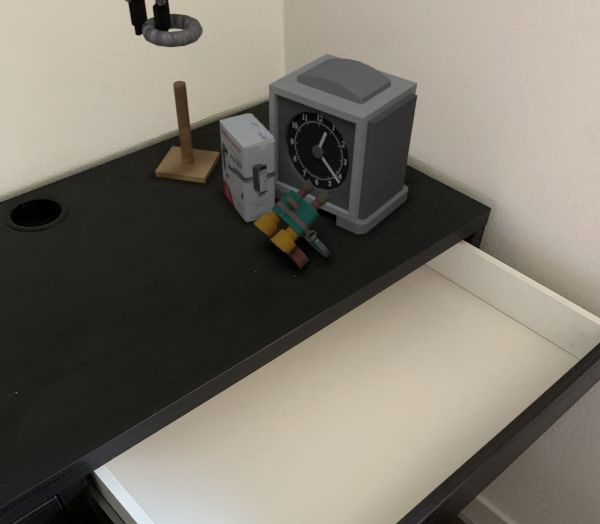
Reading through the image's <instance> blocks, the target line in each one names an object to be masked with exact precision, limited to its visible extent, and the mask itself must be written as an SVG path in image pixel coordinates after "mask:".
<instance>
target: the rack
mask: <svg viewBox="0 0 600 524" xmlns="http://www.w3.org/2000/svg"><path fill="white" fill-rule="evenodd" d="M172 86H173V87H172V88H173V95H174V103H175V111H176V121H177V129H178V137H179V145H180V146H175V145H172V146H171V147H170V149H169V150H168V151H167V153H166V154H165V156H164V157H163V158H162V160H161V162H160V163H159V164H158V166H157V168H156V169H155V171H154V172H155V173H154V174H155V177H156V178H163V179H170V180H171V179H172V180H178V181H185V182H193V183H199V184H207V181H208V180H209V178H210V176H211V174H212V173H213V171H214V170H215V168H216V166H217V164H218V163H219V161H220V159H221V152H220V151H214V150H205V149H197V148H193V140H192V139H193V137H192V130H191V120H190V111H189V100H188V90H187V83H186V82H185V81H183V80H176V81H174V82H173V83H172Z"/></svg>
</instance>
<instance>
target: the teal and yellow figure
mask: <svg viewBox="0 0 600 524" xmlns="http://www.w3.org/2000/svg"><path fill="white" fill-rule="evenodd" d="M313 190H314V187H313V185H312V182H311V180H310V179H308V180H307V181H306V182H305V183H304V184H303V185H302V188H301V189H300V190H299V191H298V192H297V193H296V192H295V191H294V190H291V191H290V192H289V193H288V194H286V195H285V196H284V197H283V198H282V199H281V200H278V201H277V202H275V206H274V207H273V208H272V212H271V213H270V214H269V215H267V214H266V213H264V214H263V215H262V216H261V217H260V218H259V219H258V220H254V221H253V224H254V225H255V227H257V228H258V229H259V230H260V231H261V232H262V233H264V234H265V235H266V236H268V238H269V239H270V241H271V242H272V243H273V244H274V245H275V247H276V248H277V249H278V250H279V251H280V252H281V253H282V254H286V256H287V257H288V258H289V259H290V261H291V262H292V263H293V264H294V265H295V266H296V267H297V268H298V269H299V270H303V268H304V267H305V266H306V265H307V264H308V262H309V258H308V257H307V256H306V254H305V253H304V252H303V250H302V249H300V248H299V247H298V246H297V244H296V242H295V241H296V240H297V239H298V238H303V239H304V240H305V241H306V242H307V243H308V244H309V245H310V246H312V247H313V248H314V249H315V250H316V251H317V252H318V253H319V254H321V255H322V257H324V258H325V259H326V258H328V257H329V256H330V255H331V252H330V251H329V249H328V248H327V246H325V244H324V243H323V242H322V241H321V240H320V239H319V238H318V236H317V232H316V231H315V230H312V229H311V230H310V229H309V228H310V227H311V226H312V225H313V224H314V223H315V221H316V220H317V219H318V218H319V217H320V213H319V212H318V210H320V209H321V208H320V207H321V206H324V205H325V204H326V203H327V202H328V201H329V200H330V198H331V196H330V195H328V194H326V193H324V192H320V193H319V194H318V195H317V196H316V197H315V198H316V199H315V200H314V201H313V202H312V203H311V204H310V203H308V202H307V201H306V200H304V198H305V197H306V196H307V195H308V194H310V193H311V192H312V191H313ZM281 223H284V224H285V225H286V226H287V228H285V230H284V229H283V228H281V229H279V227H278V226H279V225H280V224H281ZM312 233H313V234H312ZM311 234H312V235H311ZM310 235H311V236H310Z"/></svg>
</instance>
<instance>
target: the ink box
mask: <svg viewBox="0 0 600 524" xmlns="http://www.w3.org/2000/svg"><path fill="white" fill-rule="evenodd" d="M219 132H220V133H219V134H220V135H219V136H220V147H221V148H220V149H221V164H222V181H223V182H222V183H223V195H224V196H225V198H226V199H227V200H228V201H229V202H230V204H231V205H232V206H233V208H234V209H235V210H236V211H237V213H238V214H239V215H240V217H241V218H242V219H243V220H244V222H245V223H250V222H255V221H256V220H258V219H259V218H260V217H261V216H262V215H263V214H264V213H266V214H267V215H269V214H270V213H271V212H272V208H273V207H274V206H275V205H276V198H275V139H274V136H273V135H272V134H271V133H270V130H268V129H267V128H266V127H265V125H264V124H263V123H261V122H260V121H259V119H258V118H257V117H255V115H254V114H253V113H250V112H249V113H248V112H247V113H243V114H240V115H239V114H238V115H234V116H230V117H226V118H222V119H219Z"/></svg>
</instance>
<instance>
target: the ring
mask: <svg viewBox="0 0 600 524" xmlns="http://www.w3.org/2000/svg"><path fill="white" fill-rule="evenodd" d="M170 18H171V27H170V29H169V30H174V31H168V32H167V31H159V30H157V29H155V22H154V16H153V17H152V16H151V17H149V18H147V19H148V20H147V21H146V22H145V23H144V24H143V25H142V27H141V31H142V36H143V38H144V40H145V41H146V42H147V43H150V44H151V45H154V46H156V47H164V48H181V47H186V46H188V45H192V44H194V43H196V42H198V40H199V39H200V38H201V37H202V35H203V32H204V29H203V27H202V25H201V23H200V21H199V20H198V19H197V18H195V17H192V16H190V15H188V14H180V13H170Z"/></svg>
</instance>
